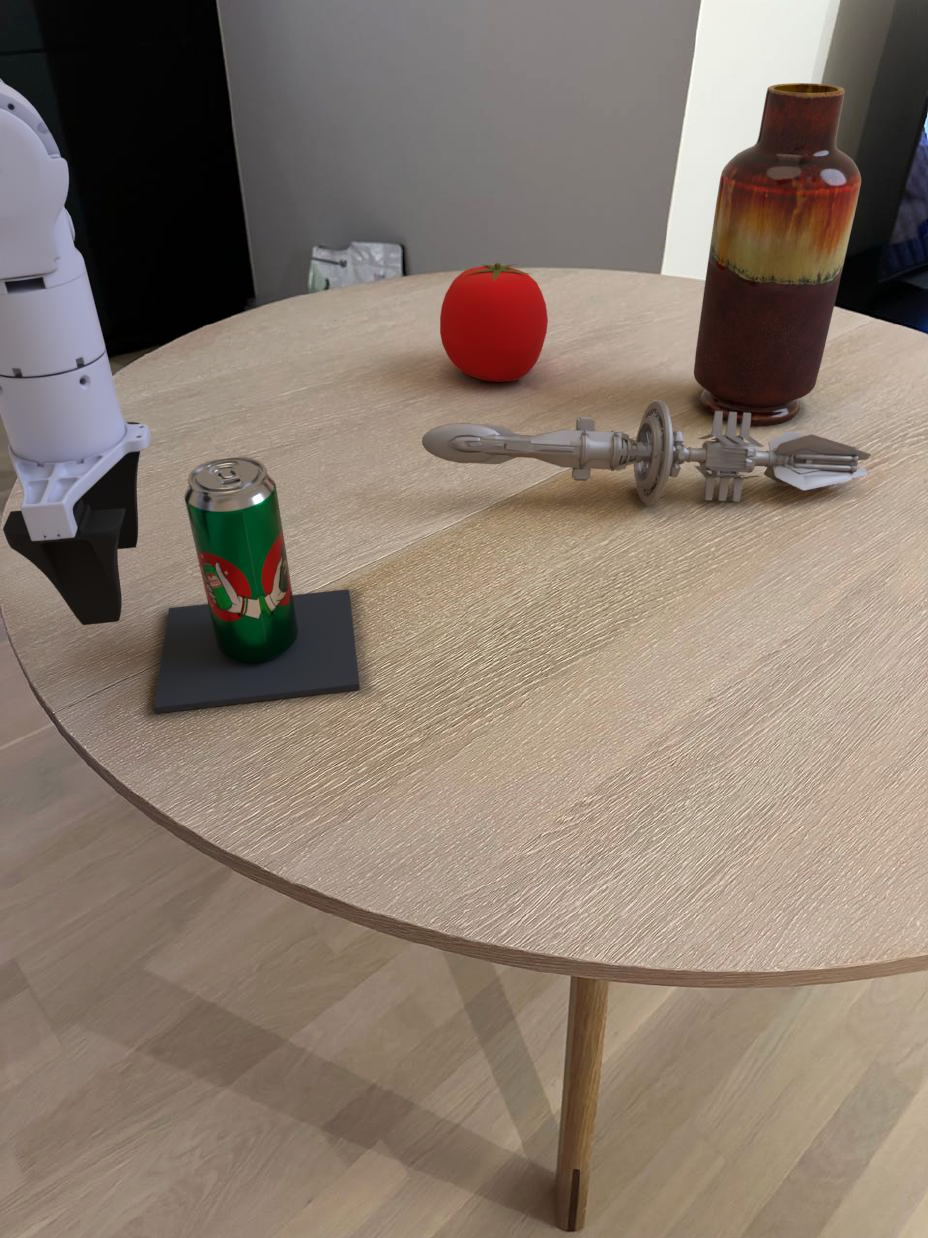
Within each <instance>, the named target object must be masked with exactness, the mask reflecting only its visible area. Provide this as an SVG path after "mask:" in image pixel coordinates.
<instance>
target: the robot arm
mask: <svg viewBox="0 0 928 1238" xmlns="http://www.w3.org/2000/svg"><path fill="white" fill-rule="evenodd" d="M69 175H70V174H69V166H68V161H67V160H66V159H65V158H63V157H62V156H61V152H60V150H59V147H58V145H57V143H56V140H55V138H54V136H53V134H52V132H50V130H49V128H48V126H47V124H46V123H45V121H44V119H43V118H42V117H41V115H40V114H39V112H38V110H37V109H36V108H35V106H34V105H32V103H31V102H30V101H29V100H28V99H27V98H26V97H25V96H24V95H22V94H21V93H20V92H19V91H17V90H16V89H14V88H13V87H12V86H10V85H7V84H6V83H5V82H4V81H3V80H2V78H0V418H1V421H2V423H3V427H4V429H5V432H6V436H7V438H8V441H9V443H8V445H7V452H8V455H9V457H10V461H11V464H12V467H13V468H14V472H15V475H16V477H17V480H18V483H19V486H20V489H21V491H22V500H21V504H20V506H19V508H20V510H11V511H10V512H9V514H8V516H7V518H6V521H5V523H4V525H3V526H2V531H3V535H4V537H5V540H6V543H8V546H9V547H10V549H12V550H13V551H15V552H16V553H17V554H20V555H21V556H23V557H24V558H25V559H27V561H29V562H31V564H33V565H34V566H35V568H37V569H38V570H39V571H40V572H41V573H43V575H44V576H45V577H46V578H47V579H48V580H49V581H50V583H51V584H52V585H53V587H54V588H55V589H56V591H57V592H58V593H59V595H60V596H61V598H62V599H63V601H64V602H65V604H66V605H67V606H68V608H69V609H70V611H71V612H72V613H73V615H74V616H75V617H76V619H77V620H78V621H79V623H80V624H81V625H82V626H89V625H100V624H108V623H118V622H119V621H120V620H121V616H122V615H121V614H122V606H123V601H122V599H123V598H122V589H121V587H122V586H121V579H120V572H119V555H118V551H119V550H124V549H135V548H137V546H138V545H137V544H138V539H139V511H138V473H139V471H138V470H139V462H140V456H141V452H143V451H145V450H147V449H148V448H149V447H150V443H151V439H152V435H151V431H150V426H149V425H148V424H145V423H140V422H136V421H126V419H125V418H124V416H123V412H122V409H121V406H120V405H121V404H120V401H119V397H118V394H117V389H116V385H115V381H114V377H113V373H112V369H111V364H110V360H109V356H108V352H107V348H106V343H105V339H104V336H103V331H102V327H101V324H100V319H99V316H98V311H97V308H96V304H95V299H94V295H93V292H92V288H91V284H90V279H89V276H88V271H87V267H86V263H85V260H84V257H83V255H82V253H81V252H80V251H79V250H78V249H77V247H75V243H74V242H75V239H76V238H75V237H76V232H75V227H74V223H73V220H72V216H71V215H70V213H69V212H68V210H67V208H65V204H66V201H67V197H68V192H69V184H70V176H69Z"/></svg>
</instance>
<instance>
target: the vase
mask: <svg viewBox="0 0 928 1238" xmlns="http://www.w3.org/2000/svg"><path fill="white" fill-rule="evenodd" d="M845 93H846V90H845V88H843V87H842V86H838V85H832V84H823V83H811V82H810V83H808V82H804V83H803V82H794V83H793V82H792V83H778V84H774V85H769V86H768V87H767V88H766V93H765V98H764V103H763V104H764V105H763V109H762V115H761V121H760V127H759V133H758V137H757V140H756V142H755V144H754V145H752V146H749V147H747V148H745V149H743V150H742V151H740V152H737V154H735V155H734V156H733V157H732V158H731V159H730V160H729V161H728V162H727V163H726V164H725V166H724V167H723V169H722V171H721V174H720V178H719V184H718V191H717V197H716V201H715V209H714V217H713V224H712V230H711V239H710V244H709V252H708V258H707V259H708V260H707V267H706V275H705V281H704V287H703V296H702V302H701V310H700V316H699V317H700V318H699V325H698V332H697V333H698V334H697V340H696V348H695V355H694V356H695V357H694V367H693V376H694V379H695V381H696V383H698V385H699V386H700V387H701V388H703V389H704V390H703V391H702V392H701V395H700V397H699V404H700V406H701V408H702V409H703V410H704V411H705V412H706V413H708V414H709V415H711V416H713V417H714V414H715V411H723V417H722V421H725V422H727V421H728V416H729V412H737V421H736V424H739V425H741V423H742V417H743V413H751V423H750V426H774V425H780V424H783V423H786V422H789V421H791V420H792V419H794V418H795V417H796V416H797V415H798V414H799V411H800V401H799V399H802V398H803V397H805V396H807V395H809V394H810V393H811V392H812V391H813V390H814V388H815V387H816V383H817V380H818V376H819V372H820V369H821V365H822V362H823V356H824V351H825V348H826V343H827V339H828V334H829V330H830V325H831V322H832V317H833V312H834V309H835V305H836V300H837V295H838V291H839V286H840V282H841V277H842V273H843V268H844V264H845V259H846V256H847V251H848V246H849V241H850V237H851V232H852V228H853V224H854V219H855V213H856V210H857V206H858V201H859V200H858V199H859V195H860V192H861V191H860V189H861V186H862V176H861V172H860V170H859V168H858V166H857V164H856V163H855V161H854V160H853V159H852V157H850V156H849V155H848V154H846V153H845V152H844V151H842V150H840V149H839V148H838V147H837V138H838V133H839V126H840V121H841V117H842V116H841V115H842V111H843V110H842V109H843V104H844V100H845Z"/></svg>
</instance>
